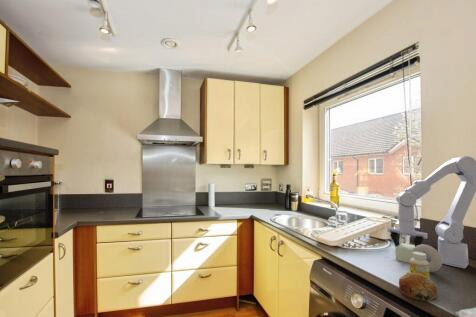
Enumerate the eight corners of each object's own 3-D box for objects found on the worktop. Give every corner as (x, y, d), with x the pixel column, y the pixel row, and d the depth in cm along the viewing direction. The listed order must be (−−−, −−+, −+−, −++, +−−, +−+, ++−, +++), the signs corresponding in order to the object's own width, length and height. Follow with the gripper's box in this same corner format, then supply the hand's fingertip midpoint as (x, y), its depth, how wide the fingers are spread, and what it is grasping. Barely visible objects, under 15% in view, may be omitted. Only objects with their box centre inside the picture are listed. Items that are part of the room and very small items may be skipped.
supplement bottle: (430, 286, 86) (429, 257, 86) (410, 282, 89) (410, 254, 89) (428, 280, 91) (428, 252, 91) (410, 277, 93) (409, 250, 94)
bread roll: (438, 307, 80) (438, 280, 83) (434, 304, 73) (435, 274, 76) (400, 296, 87) (402, 271, 90) (394, 293, 80) (396, 266, 83)
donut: (409, 267, 102) (409, 242, 102) (414, 266, 104) (413, 240, 104) (439, 277, 93) (439, 248, 94) (444, 275, 95) (443, 247, 96)
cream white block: (402, 255, 117) (402, 242, 117) (418, 258, 113) (417, 245, 113) (395, 259, 111) (395, 246, 111) (411, 263, 107) (411, 250, 107)
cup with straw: (388, 248, 126) (387, 207, 126) (401, 246, 129) (400, 206, 130) (405, 254, 118) (404, 209, 119) (418, 251, 121) (417, 208, 122)
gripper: (384, 218, 115) (385, 250, 115) (423, 224, 104) (424, 258, 104) (390, 216, 120) (391, 246, 120) (428, 221, 109) (429, 254, 109)
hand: (407, 252), depth 112 cm, fingers open, 6 cm apart
